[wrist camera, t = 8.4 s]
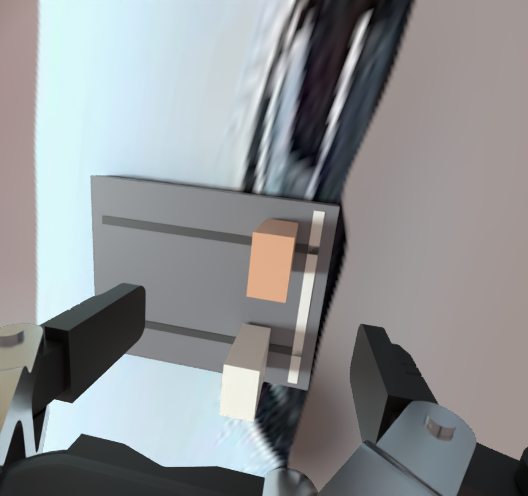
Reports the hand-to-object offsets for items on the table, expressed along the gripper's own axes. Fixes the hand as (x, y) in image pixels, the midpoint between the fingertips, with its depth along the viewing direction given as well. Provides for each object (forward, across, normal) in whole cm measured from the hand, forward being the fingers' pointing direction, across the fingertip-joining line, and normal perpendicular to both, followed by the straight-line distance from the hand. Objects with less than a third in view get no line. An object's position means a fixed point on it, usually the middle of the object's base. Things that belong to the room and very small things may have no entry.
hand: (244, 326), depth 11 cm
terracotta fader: (+12, 0, 0) cm, 12 cm away
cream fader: (+12, +1, +9) cm, 15 cm away
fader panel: (+15, +6, +4) cm, 17 cm away
